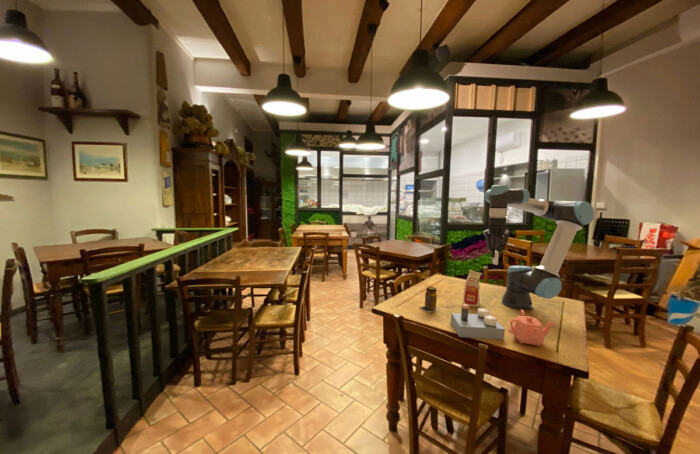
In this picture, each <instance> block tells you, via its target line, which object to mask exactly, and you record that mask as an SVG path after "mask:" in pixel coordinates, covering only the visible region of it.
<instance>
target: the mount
mask: <svg viewBox="0 0 700 454" xmlns="http://www.w3.org/2000/svg"><path fill="white" fill-rule="evenodd" d="M489 316H493V315H492V314H489ZM450 323H451V325H452V328H453V329H454V330H455V332H456V334H457V335H458V337H459V338H470V339H484V338H485V339H488V340H502V341H503V340H505V330H506V329H505V328H504V327H503V326H502V325H501V324H500V323H499V321H497V324H496V326H494V327H487V326H486V324H485V323H484V319H480V318H479V316H478V315H477V313H468V321H462V320H461V312H450ZM485 339H484V340H485Z"/></svg>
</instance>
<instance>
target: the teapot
mask: <svg viewBox="0 0 700 454" xmlns="http://www.w3.org/2000/svg"><path fill="white" fill-rule="evenodd" d="M556 323H557V322H555V321H548V322H547V323H546V325H545V327H543V325H542V323H541V322H540V320H538V319H537V318H535V317H533V316H530V315H527V316H526V312H525V310H522V309H520V315H517V316H516V318H513V319H511V320H510V321H509V326H510V329H509V330H508V331H509V334H512V335H513V336H514V338H515V339H516V340H517V341H518V343H519V342H520V343H519V344H521V343H525V344H526V345H527V344H528V345H533V346H534V345H539V346H543V344H544V342H545V337H546V336H547V335H548V334H549V333H550V328H551V326H552V325H554V324H556Z"/></svg>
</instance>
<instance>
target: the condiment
mask: <svg viewBox="0 0 700 454" xmlns="http://www.w3.org/2000/svg"><path fill="white" fill-rule="evenodd" d="M425 291H426V292H425V293H424V295H425V296H424V297H425V298H424V306H420V307H419V309H420V310H422V311H424V312H426V313H428V314H429V313H434V312H437V311H439V310H440V309H439V308H437V298H438V297H437V296H438V293H437V288H436V287H434V286H427V287H426V290H425Z"/></svg>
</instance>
